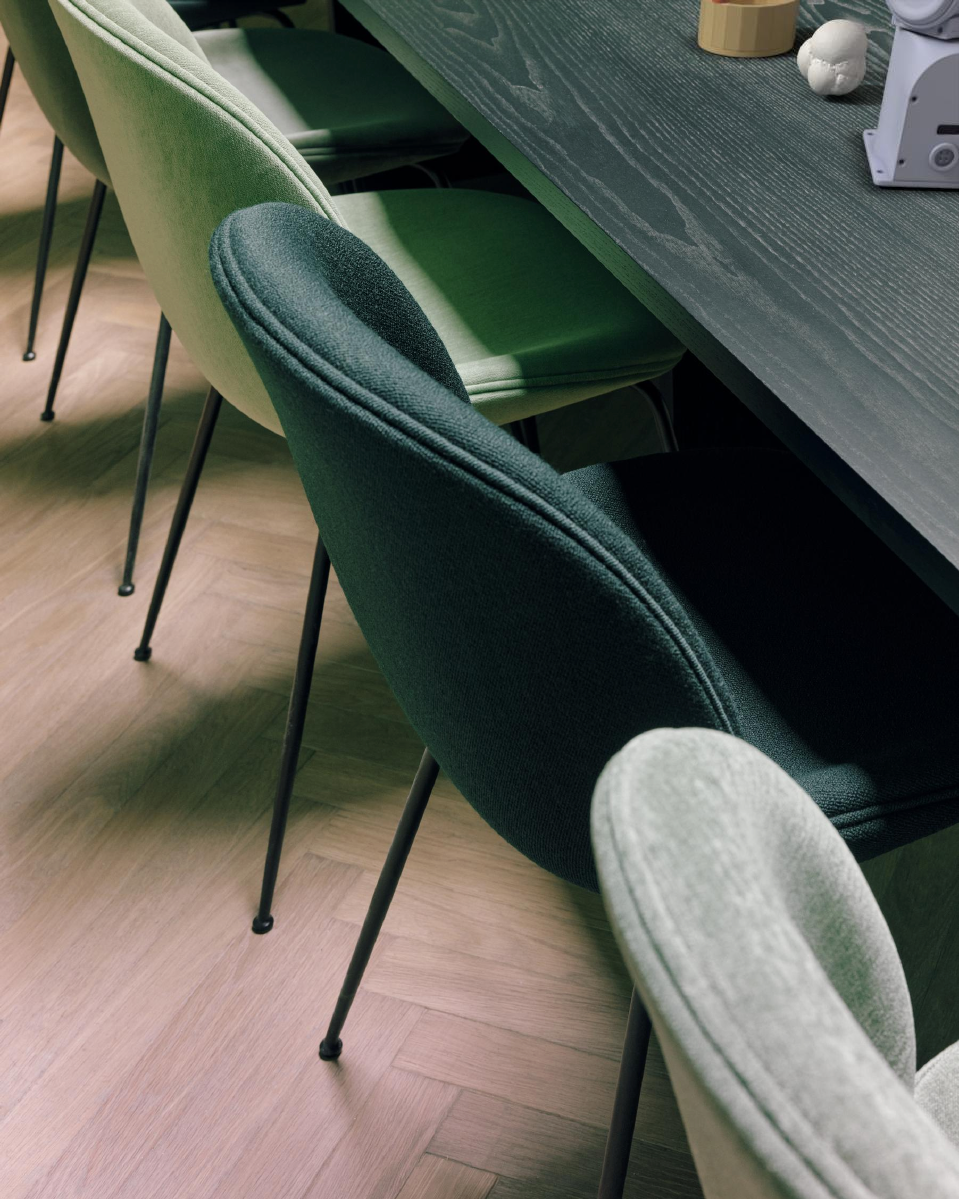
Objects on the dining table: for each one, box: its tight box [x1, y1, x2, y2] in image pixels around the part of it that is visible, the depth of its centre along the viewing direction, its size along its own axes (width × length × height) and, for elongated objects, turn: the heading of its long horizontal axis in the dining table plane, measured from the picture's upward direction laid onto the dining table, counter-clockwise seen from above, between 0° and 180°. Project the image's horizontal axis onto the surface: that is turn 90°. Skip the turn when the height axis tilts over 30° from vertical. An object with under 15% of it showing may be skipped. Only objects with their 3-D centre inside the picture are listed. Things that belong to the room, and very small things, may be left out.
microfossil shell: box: [796, 18, 868, 96], centre depth 92 cm, size 4×5×6 cm
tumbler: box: [697, 0, 801, 58], centre depth 103 cm, size 8×8×4 cm
